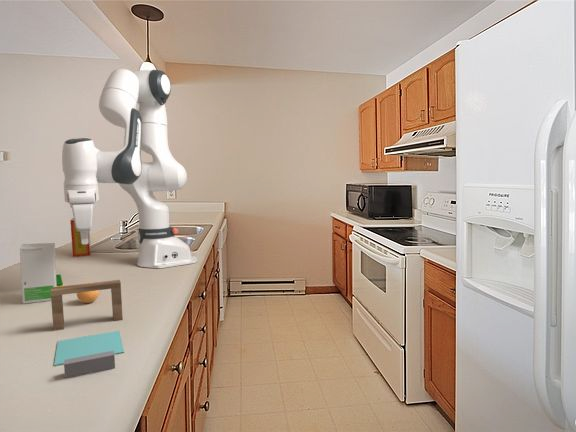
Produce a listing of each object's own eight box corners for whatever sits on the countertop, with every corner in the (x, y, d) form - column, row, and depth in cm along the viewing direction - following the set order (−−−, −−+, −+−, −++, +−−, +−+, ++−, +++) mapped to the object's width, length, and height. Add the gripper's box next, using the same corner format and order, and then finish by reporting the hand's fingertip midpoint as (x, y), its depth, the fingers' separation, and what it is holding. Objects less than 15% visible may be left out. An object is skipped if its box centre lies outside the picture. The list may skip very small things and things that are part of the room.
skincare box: (22, 304, 110) (17, 248, 108) (24, 297, 116) (20, 244, 114) (57, 299, 114) (53, 245, 112) (58, 293, 119) (54, 241, 118)
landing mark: (119, 331, 91) (119, 330, 90) (124, 352, 80) (123, 351, 80) (57, 341, 85) (57, 340, 85) (54, 366, 75) (54, 365, 75)
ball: (99, 298, 115) (98, 279, 114) (99, 303, 110) (98, 283, 109) (77, 301, 112) (76, 281, 112) (77, 306, 107) (75, 286, 107)
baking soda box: (89, 255, 174) (87, 218, 172) (72, 257, 171) (70, 219, 169) (90, 251, 182) (88, 216, 181) (74, 252, 180) (71, 217, 178)
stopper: (114, 363, 75) (113, 350, 75) (115, 367, 74) (114, 354, 73) (65, 373, 72) (64, 359, 72) (65, 378, 70) (64, 364, 70)
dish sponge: (36, 295, 120) (35, 287, 120) (35, 284, 132) (35, 277, 131) (63, 291, 124) (62, 283, 123) (60, 281, 135) (60, 273, 135)
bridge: (54, 326, 94) (51, 287, 93) (121, 315, 100) (119, 279, 99) (53, 330, 91) (50, 290, 90) (122, 319, 98) (120, 282, 97)
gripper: (70, 193, 124) (73, 238, 125) (68, 197, 105) (71, 249, 107) (93, 193, 126) (96, 237, 128) (95, 196, 108) (98, 247, 110)
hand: (85, 243), depth 117 cm, fingers open, 2 cm apart
